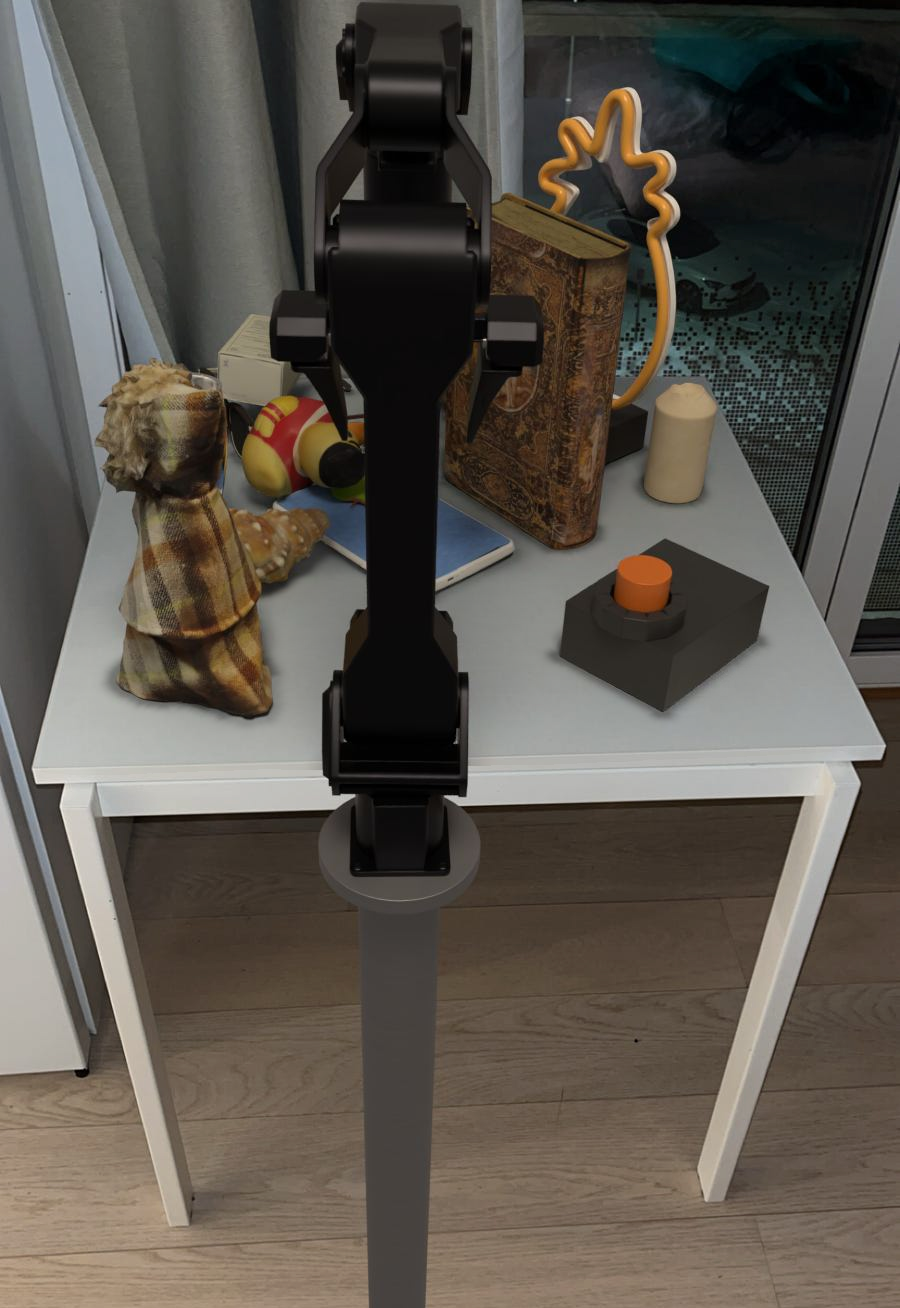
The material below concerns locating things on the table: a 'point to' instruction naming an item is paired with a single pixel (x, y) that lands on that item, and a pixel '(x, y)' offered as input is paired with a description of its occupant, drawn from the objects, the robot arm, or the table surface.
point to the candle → (679, 443)
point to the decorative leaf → (351, 493)
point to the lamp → (586, 141)
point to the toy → (300, 449)
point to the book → (546, 378)
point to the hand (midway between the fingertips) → (407, 439)
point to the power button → (642, 583)
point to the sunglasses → (247, 416)
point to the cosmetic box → (253, 365)
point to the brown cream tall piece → (182, 547)
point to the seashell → (279, 538)
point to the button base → (665, 628)
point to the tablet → (458, 534)
